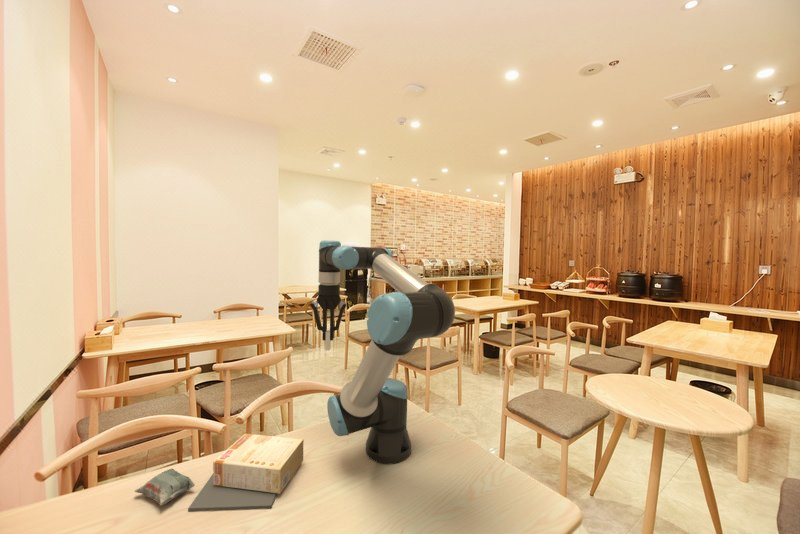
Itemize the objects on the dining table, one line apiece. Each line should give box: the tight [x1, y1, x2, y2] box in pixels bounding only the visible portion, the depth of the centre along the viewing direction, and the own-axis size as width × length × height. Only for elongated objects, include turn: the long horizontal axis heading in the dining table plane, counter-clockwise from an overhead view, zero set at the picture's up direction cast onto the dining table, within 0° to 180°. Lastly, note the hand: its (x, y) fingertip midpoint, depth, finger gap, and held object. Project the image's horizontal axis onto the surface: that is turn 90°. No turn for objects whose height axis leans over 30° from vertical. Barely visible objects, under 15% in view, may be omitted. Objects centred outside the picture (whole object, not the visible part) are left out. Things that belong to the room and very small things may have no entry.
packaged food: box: [134, 468, 196, 507], centre depth 88 cm, size 9×12×5 cm
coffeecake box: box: [212, 433, 304, 494], centre depth 97 cm, size 15×7×20 cm
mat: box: [187, 473, 278, 513], centre depth 93 cm, size 20×19×1 cm
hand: (327, 349), depth 120 cm, fingers closed
